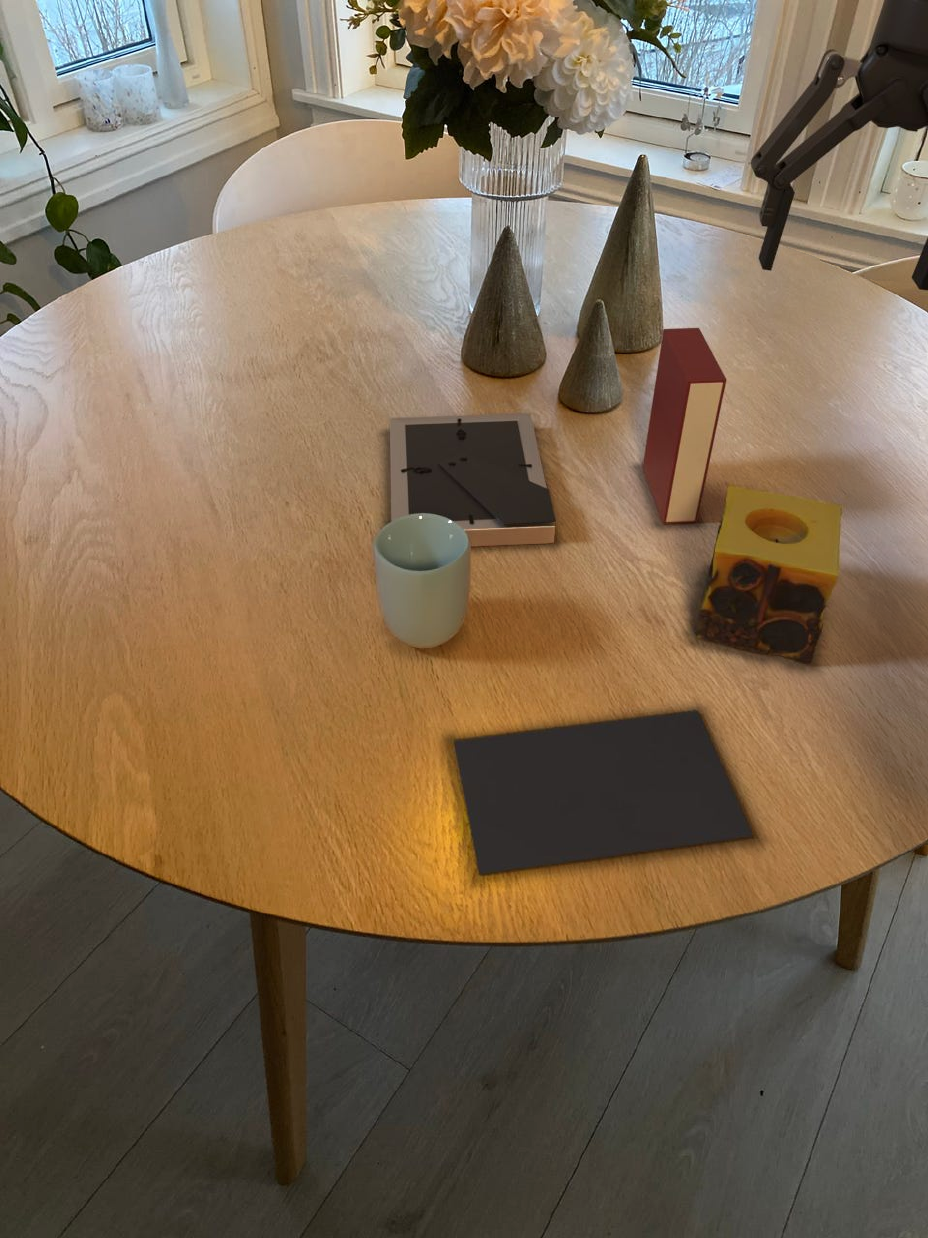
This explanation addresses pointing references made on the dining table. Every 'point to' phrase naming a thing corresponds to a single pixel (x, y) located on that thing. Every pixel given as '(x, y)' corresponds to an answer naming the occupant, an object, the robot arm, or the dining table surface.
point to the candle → (771, 573)
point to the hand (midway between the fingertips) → (841, 274)
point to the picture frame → (473, 476)
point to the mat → (596, 792)
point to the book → (682, 424)
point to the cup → (423, 578)
